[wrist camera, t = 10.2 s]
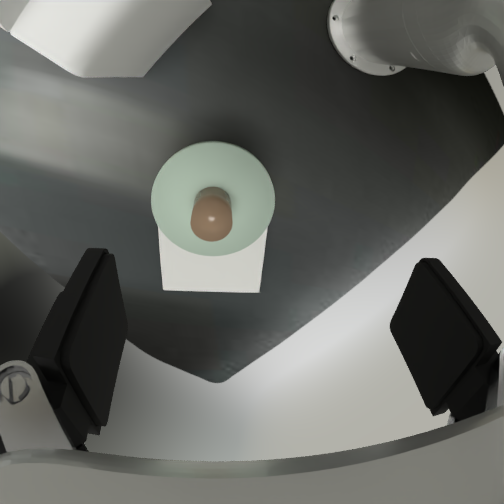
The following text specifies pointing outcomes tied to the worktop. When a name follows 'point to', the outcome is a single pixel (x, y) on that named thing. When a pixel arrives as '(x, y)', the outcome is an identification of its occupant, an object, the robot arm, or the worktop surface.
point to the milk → (100, 31)
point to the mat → (211, 268)
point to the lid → (213, 198)
